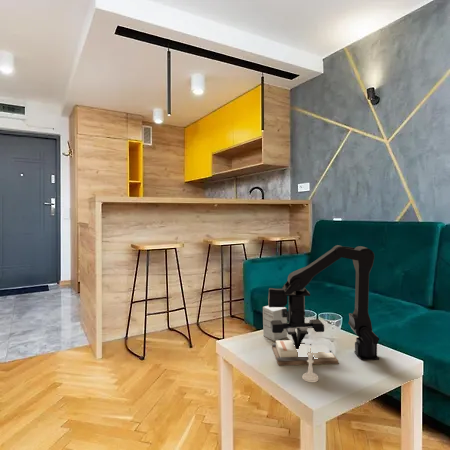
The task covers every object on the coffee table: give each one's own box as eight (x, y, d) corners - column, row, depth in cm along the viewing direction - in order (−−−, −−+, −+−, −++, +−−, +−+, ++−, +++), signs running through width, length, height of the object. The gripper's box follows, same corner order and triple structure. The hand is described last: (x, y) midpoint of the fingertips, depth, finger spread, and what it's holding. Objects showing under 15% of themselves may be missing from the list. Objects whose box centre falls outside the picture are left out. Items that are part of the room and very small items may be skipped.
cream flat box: (291, 346, 127) (291, 339, 126) (297, 358, 117) (297, 351, 116) (275, 346, 127) (275, 340, 126) (280, 358, 117) (280, 351, 116)
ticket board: (325, 346, 129) (325, 341, 129) (338, 363, 115) (338, 357, 115) (272, 347, 129) (271, 342, 128) (278, 365, 115) (278, 359, 115)
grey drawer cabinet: (276, 331, 145) (275, 303, 144) (287, 337, 138) (287, 307, 138) (262, 335, 141) (262, 306, 140) (273, 341, 135) (273, 311, 134)
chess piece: (318, 375, 107) (317, 345, 107) (318, 383, 103) (318, 351, 102) (302, 373, 108) (302, 343, 108) (302, 381, 104) (302, 350, 103)
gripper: (315, 300, 129) (315, 339, 130) (268, 301, 129) (268, 340, 130) (324, 309, 118) (324, 351, 119) (272, 310, 118) (272, 353, 118)
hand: (296, 348), depth 122 cm, fingers closed
